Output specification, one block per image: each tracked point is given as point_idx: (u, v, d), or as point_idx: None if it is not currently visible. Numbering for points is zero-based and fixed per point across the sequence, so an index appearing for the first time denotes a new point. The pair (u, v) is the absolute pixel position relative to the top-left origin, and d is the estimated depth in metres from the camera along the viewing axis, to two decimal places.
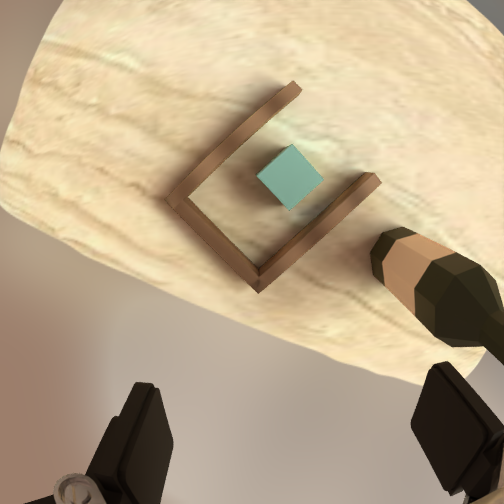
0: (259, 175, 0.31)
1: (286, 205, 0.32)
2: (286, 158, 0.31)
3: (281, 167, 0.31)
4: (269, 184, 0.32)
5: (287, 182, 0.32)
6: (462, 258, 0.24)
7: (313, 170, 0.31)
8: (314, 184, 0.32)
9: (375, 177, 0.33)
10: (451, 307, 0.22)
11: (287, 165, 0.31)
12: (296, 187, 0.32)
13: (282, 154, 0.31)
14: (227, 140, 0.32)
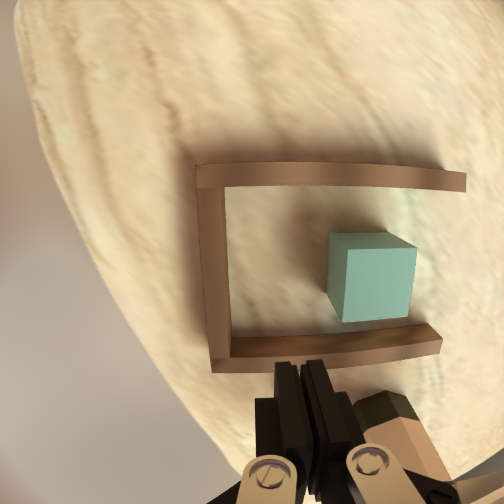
0: (351, 251, 0.18)
1: (345, 313, 0.20)
2: (398, 259, 0.19)
3: (383, 264, 0.19)
4: (351, 274, 0.19)
5: (372, 287, 0.19)
6: None
7: (408, 297, 0.19)
8: (394, 314, 0.20)
9: (439, 344, 0.22)
10: None
11: (390, 268, 0.19)
12: (374, 302, 0.19)
13: (397, 250, 0.18)
14: (346, 166, 0.19)
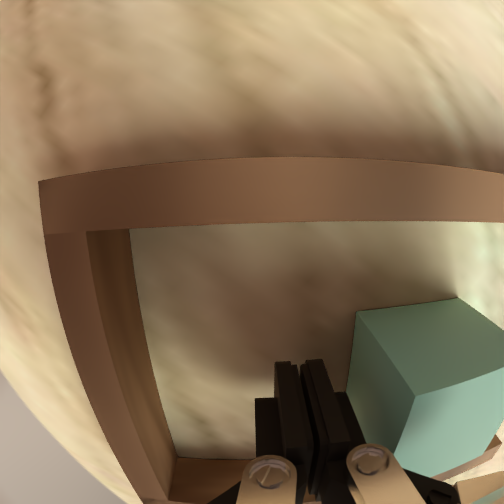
0: (422, 398, 0.06)
1: None
2: (501, 384, 0.06)
3: (474, 401, 0.06)
4: (411, 434, 0.07)
5: (444, 441, 0.07)
6: None
7: (493, 432, 0.07)
8: (465, 459, 0.07)
9: (496, 449, 0.10)
10: None
11: (484, 403, 0.07)
12: (440, 457, 0.07)
13: None
14: (406, 172, 0.07)
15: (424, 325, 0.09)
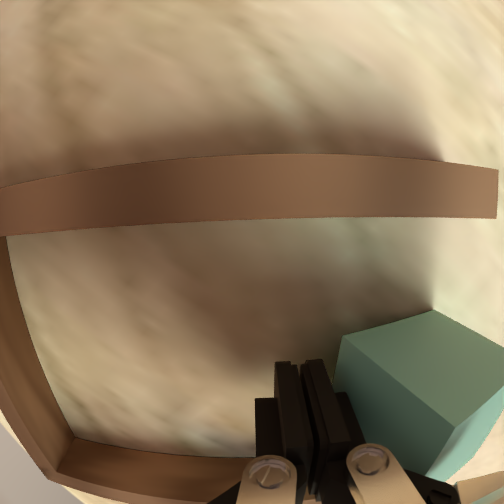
0: (458, 427, 0.05)
1: None
2: None
3: (486, 415, 0.06)
4: (438, 461, 0.06)
5: (455, 457, 0.06)
6: None
7: (485, 436, 0.08)
8: (460, 466, 0.08)
9: None
10: None
11: (490, 414, 0.06)
12: (447, 471, 0.07)
13: None
14: (137, 174, 0.07)
15: (420, 345, 0.09)
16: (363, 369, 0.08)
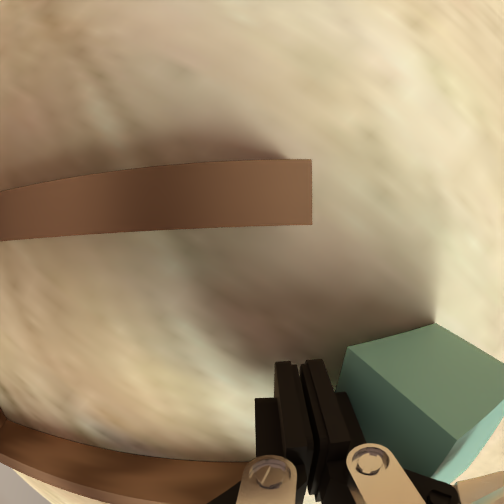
0: (459, 440, 0.05)
1: None
2: (502, 408, 0.06)
3: (484, 429, 0.06)
4: (437, 472, 0.05)
5: (452, 468, 0.06)
6: None
7: (480, 449, 0.08)
8: (455, 477, 0.07)
9: None
10: None
11: (488, 427, 0.06)
12: None
13: None
14: None
15: (422, 358, 0.09)
16: (367, 380, 0.08)
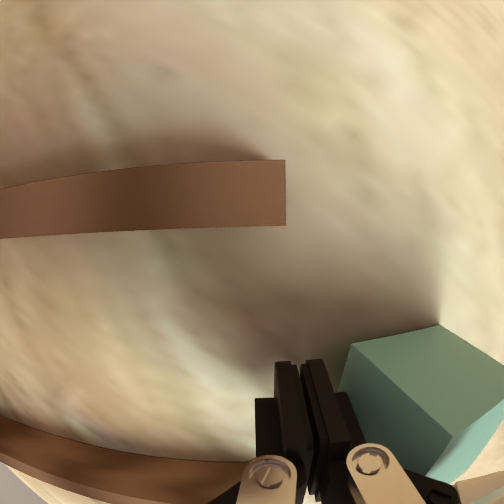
0: (455, 437, 0.05)
1: None
2: (501, 409, 0.06)
3: (482, 429, 0.06)
4: (434, 469, 0.06)
5: (450, 467, 0.06)
6: None
7: (480, 451, 0.08)
8: (454, 478, 0.08)
9: None
10: None
11: (486, 428, 0.06)
12: None
13: None
14: None
15: (424, 357, 0.09)
16: (369, 377, 0.09)
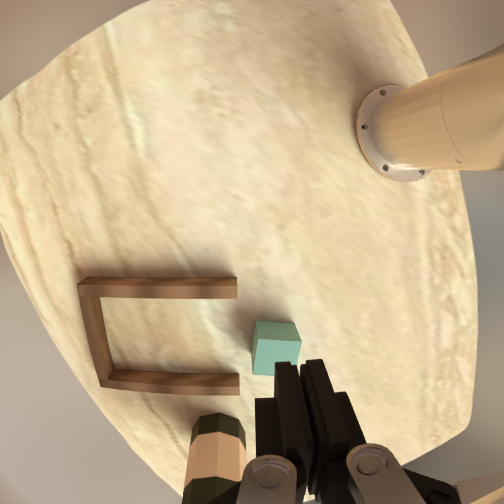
0: (260, 340, 0.34)
1: (254, 370, 0.35)
2: (288, 346, 0.34)
3: (278, 348, 0.34)
4: (259, 351, 0.34)
5: (271, 359, 0.35)
6: None
7: None
8: None
9: (237, 389, 0.38)
10: None
11: (283, 350, 0.34)
12: (272, 366, 0.35)
13: (288, 342, 0.34)
14: (148, 288, 0.34)
15: (273, 327, 0.37)
16: (255, 328, 0.38)
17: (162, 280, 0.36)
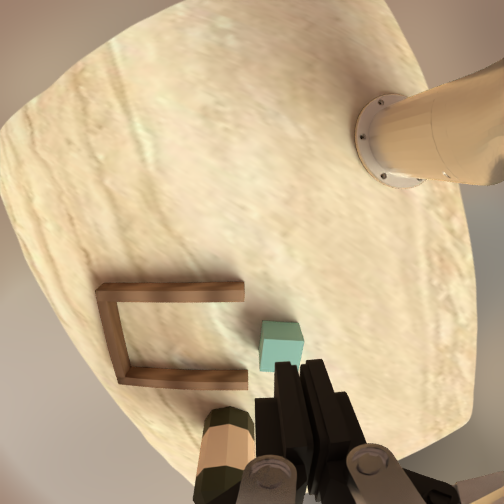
0: (265, 340, 0.37)
1: (261, 367, 0.38)
2: (292, 345, 0.37)
3: (283, 347, 0.37)
4: (265, 349, 0.37)
5: (276, 357, 0.38)
6: None
7: (298, 363, 0.38)
8: None
9: (246, 384, 0.41)
10: (207, 500, 0.29)
11: (287, 349, 0.37)
12: None
13: (292, 341, 0.37)
14: (162, 293, 0.37)
15: (278, 327, 0.40)
16: (262, 328, 0.40)
17: (175, 285, 0.39)
